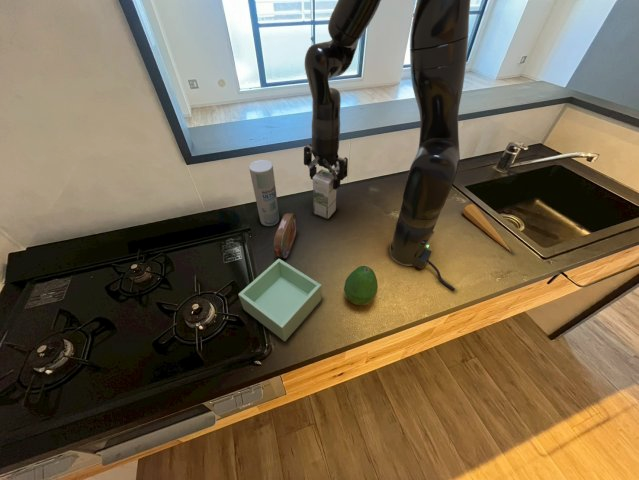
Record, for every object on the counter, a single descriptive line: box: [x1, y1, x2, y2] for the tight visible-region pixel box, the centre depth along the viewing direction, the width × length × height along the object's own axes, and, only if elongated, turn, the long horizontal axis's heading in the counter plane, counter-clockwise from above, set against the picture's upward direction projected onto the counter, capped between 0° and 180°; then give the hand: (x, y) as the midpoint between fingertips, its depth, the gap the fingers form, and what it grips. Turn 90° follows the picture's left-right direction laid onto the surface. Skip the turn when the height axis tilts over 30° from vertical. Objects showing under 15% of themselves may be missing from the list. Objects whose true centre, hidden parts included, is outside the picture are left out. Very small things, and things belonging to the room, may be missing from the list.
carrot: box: [462, 203, 512, 253], centre depth 87 cm, size 20×4×4 cm, turn 21°
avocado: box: [343, 265, 379, 306], centre depth 66 cm, size 8×8×12 cm
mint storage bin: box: [238, 258, 322, 342], centre depth 67 cm, size 14×14×7 cm
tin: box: [272, 212, 298, 259], centre depth 81 cm, size 15×3×8 cm, turn 168°
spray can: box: [248, 159, 280, 227], centre depth 84 cm, size 6×6×20 cm
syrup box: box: [312, 169, 337, 220], centre depth 89 cm, size 6×6×14 cm
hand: (324, 183), depth 86 cm, fingers open, 8 cm apart
